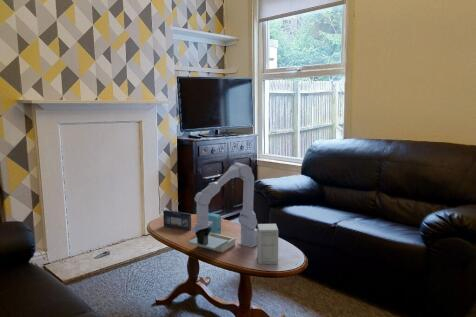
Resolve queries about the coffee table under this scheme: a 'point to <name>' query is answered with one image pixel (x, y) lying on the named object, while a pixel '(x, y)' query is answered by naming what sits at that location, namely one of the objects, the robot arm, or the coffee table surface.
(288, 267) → the coffee table surface
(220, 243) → the lid flap
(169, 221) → the vhs cassette tape
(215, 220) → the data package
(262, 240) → the supplement box
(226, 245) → the carton
